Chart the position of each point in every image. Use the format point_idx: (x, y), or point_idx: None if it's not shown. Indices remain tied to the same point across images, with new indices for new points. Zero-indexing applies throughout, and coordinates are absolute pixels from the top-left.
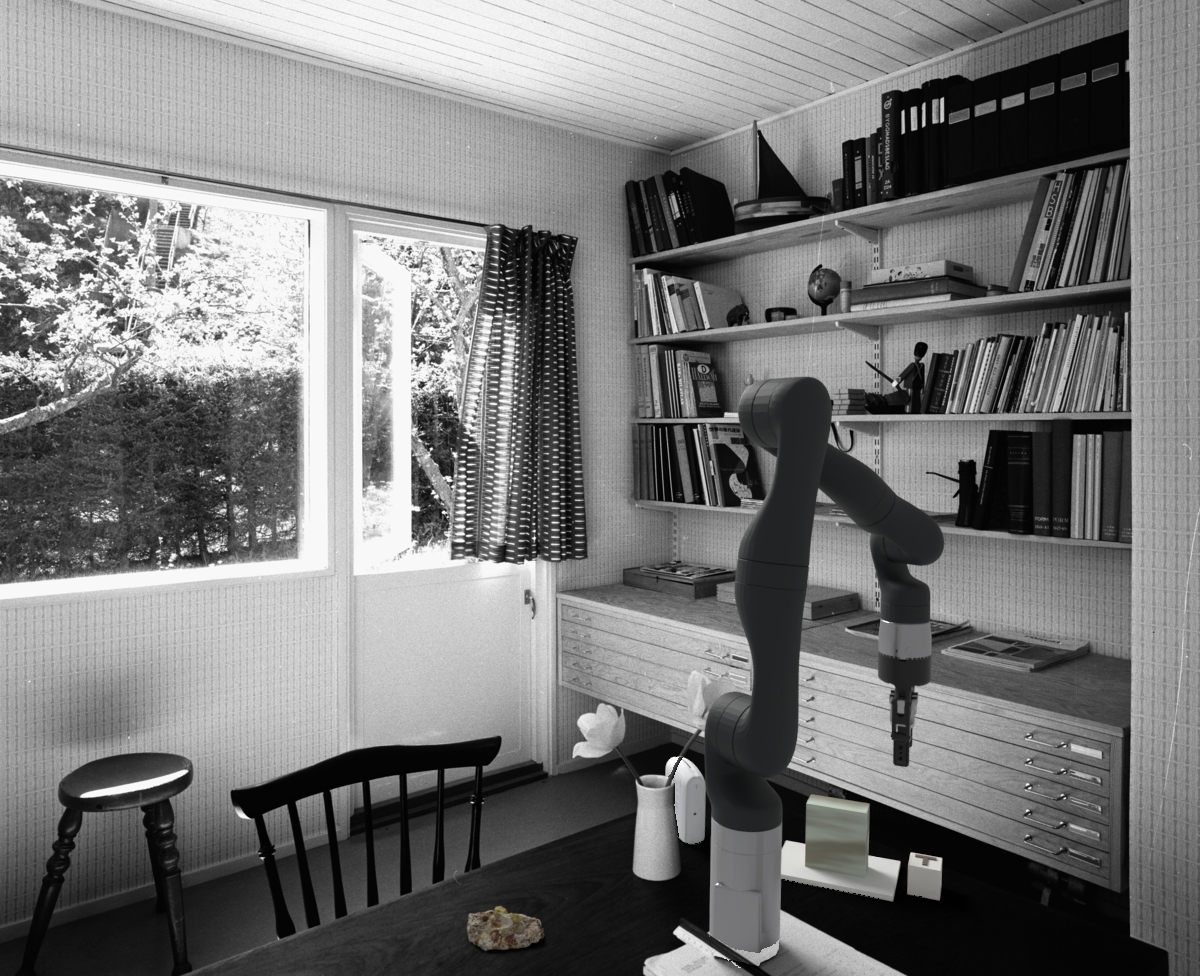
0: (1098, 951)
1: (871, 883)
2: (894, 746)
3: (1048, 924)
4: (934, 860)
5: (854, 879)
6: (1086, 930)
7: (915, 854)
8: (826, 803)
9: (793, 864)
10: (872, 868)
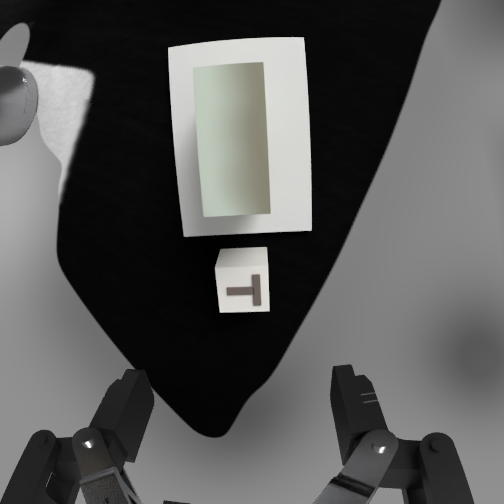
0: (200, 413)
1: None
2: (108, 413)
3: (229, 386)
4: (253, 302)
5: None
6: (236, 409)
7: (258, 275)
8: (216, 112)
9: None
10: None
